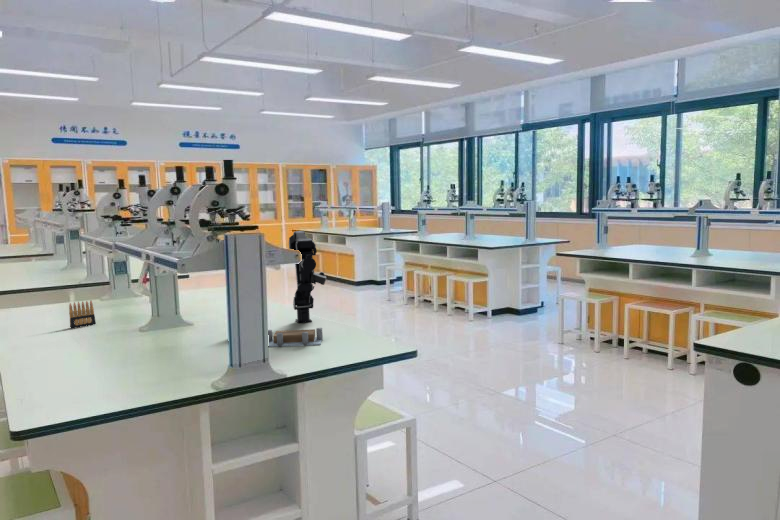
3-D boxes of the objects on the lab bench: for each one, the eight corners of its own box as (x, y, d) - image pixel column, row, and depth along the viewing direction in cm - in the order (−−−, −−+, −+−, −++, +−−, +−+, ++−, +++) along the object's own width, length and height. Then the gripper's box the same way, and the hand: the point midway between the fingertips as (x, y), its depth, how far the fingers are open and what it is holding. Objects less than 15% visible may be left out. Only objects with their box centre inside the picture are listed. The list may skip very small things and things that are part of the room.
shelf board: (276, 330, 239) (273, 335, 232) (315, 329, 240) (313, 334, 232) (276, 337, 240) (273, 343, 232) (315, 336, 240) (313, 341, 233)
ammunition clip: (70, 328, 270) (68, 303, 268) (70, 328, 271) (67, 302, 269) (95, 324, 276) (93, 300, 275) (95, 324, 278) (92, 299, 276)
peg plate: (267, 340, 239) (267, 328, 238) (323, 338, 239) (322, 326, 239) (263, 347, 228) (262, 335, 228) (321, 345, 229) (320, 332, 229)
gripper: (323, 270, 240) (324, 307, 242) (326, 264, 259) (327, 298, 261) (296, 271, 240) (298, 308, 242) (301, 265, 258) (303, 299, 260)
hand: (307, 303), depth 251 cm, fingers closed
